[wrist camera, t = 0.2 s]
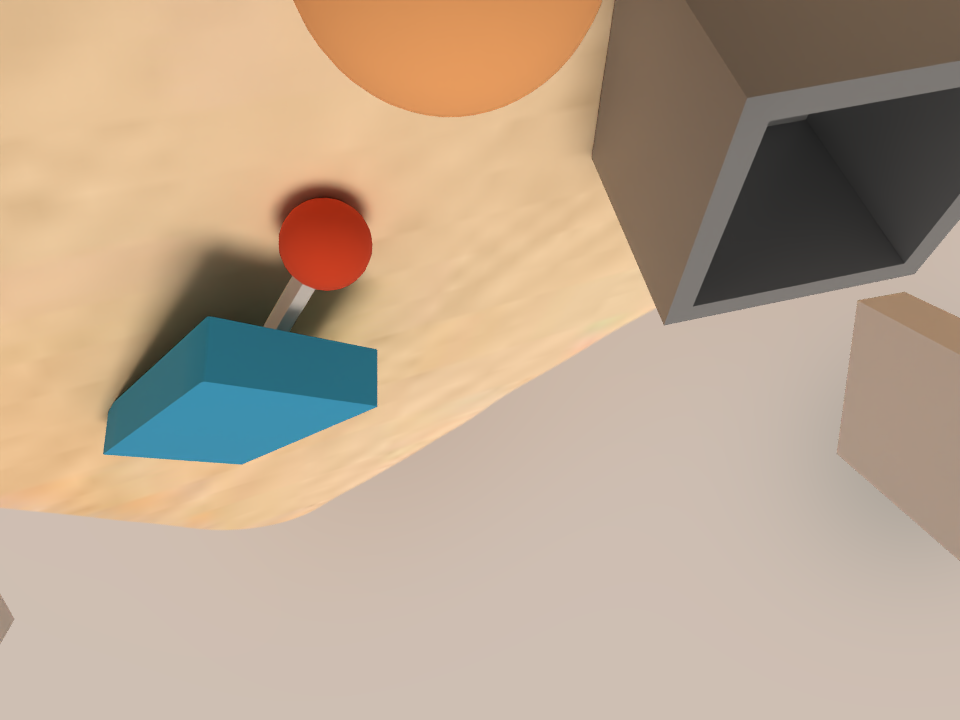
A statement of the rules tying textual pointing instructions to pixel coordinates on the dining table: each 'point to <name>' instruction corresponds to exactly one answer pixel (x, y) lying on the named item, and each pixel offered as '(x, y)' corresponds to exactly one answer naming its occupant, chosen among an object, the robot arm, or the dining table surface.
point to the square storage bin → (779, 144)
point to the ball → (448, 48)
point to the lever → (258, 362)
